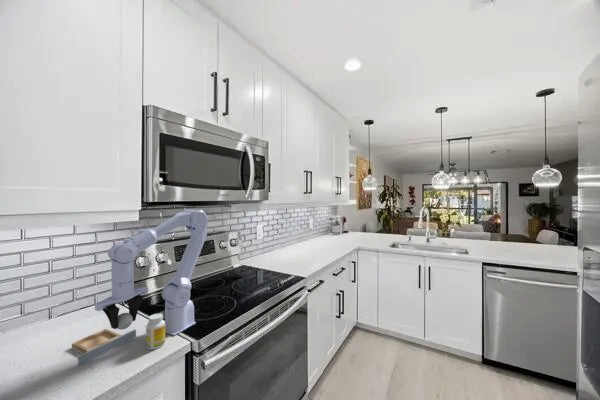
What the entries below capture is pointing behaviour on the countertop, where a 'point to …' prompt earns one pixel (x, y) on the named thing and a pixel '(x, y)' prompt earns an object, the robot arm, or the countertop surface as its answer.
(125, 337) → the acrylic wall
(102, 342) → the wooden dish
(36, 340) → the countertop surface
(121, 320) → the ball
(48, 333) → the countertop surface
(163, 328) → the supplement bottle
